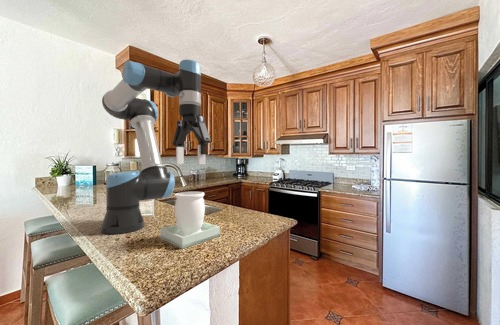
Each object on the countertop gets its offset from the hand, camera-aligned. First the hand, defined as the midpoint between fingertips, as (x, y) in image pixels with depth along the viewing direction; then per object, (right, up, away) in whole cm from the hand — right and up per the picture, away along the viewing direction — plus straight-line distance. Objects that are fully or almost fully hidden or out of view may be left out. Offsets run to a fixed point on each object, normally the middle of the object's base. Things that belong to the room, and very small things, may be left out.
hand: (190, 164), depth 79 cm
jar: (0, -26, 0) cm, 26 cm away
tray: (0, -27, 0) cm, 27 cm away
